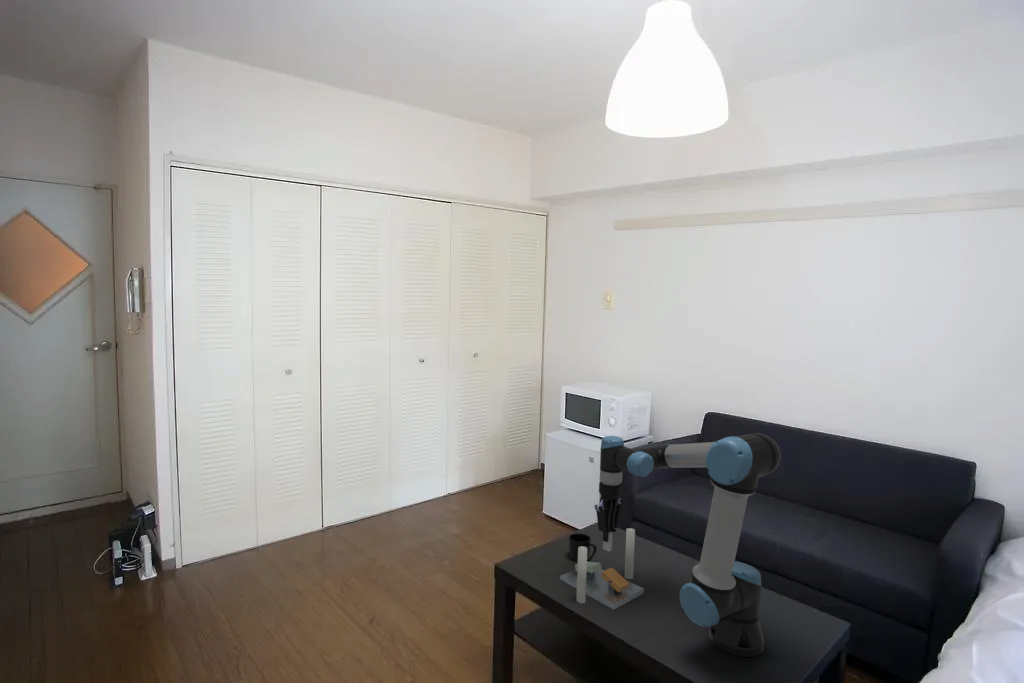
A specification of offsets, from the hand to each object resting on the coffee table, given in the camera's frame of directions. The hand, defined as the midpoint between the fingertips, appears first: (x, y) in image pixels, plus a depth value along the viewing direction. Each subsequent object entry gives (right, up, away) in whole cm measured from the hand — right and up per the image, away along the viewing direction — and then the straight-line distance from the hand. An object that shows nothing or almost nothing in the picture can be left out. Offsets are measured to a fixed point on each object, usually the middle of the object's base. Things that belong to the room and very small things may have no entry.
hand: (607, 549), depth 193 cm
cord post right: (+9, -14, +9) cm, 19 cm away
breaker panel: (-2, -14, +2) cm, 14 cm away
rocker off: (+2, -9, -2) cm, 10 cm away
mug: (-6, -13, +21) cm, 25 cm away
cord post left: (-10, -14, -7) cm, 19 cm away
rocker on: (-6, -9, +7) cm, 12 cm away
